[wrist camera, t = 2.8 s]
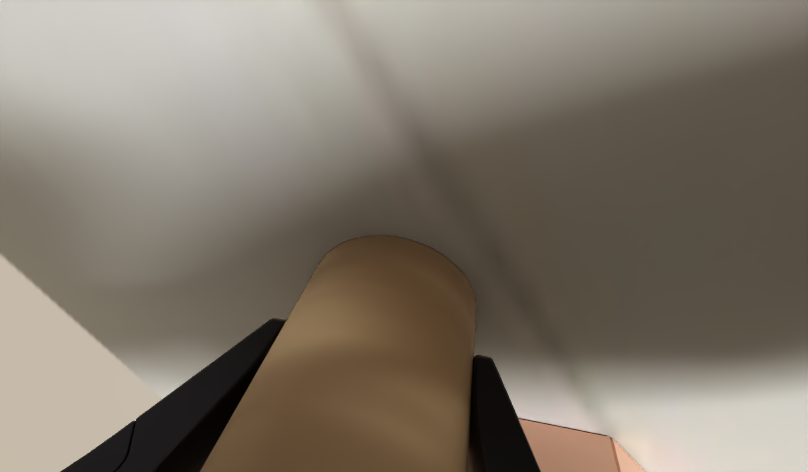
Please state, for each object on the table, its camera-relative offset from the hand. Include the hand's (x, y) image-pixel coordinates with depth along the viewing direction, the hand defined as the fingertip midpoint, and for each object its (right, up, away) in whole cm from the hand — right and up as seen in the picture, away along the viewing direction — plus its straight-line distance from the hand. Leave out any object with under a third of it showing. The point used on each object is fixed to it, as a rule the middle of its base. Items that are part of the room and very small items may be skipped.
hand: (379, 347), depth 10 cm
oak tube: (0, +1, +1) cm, 2 cm away
